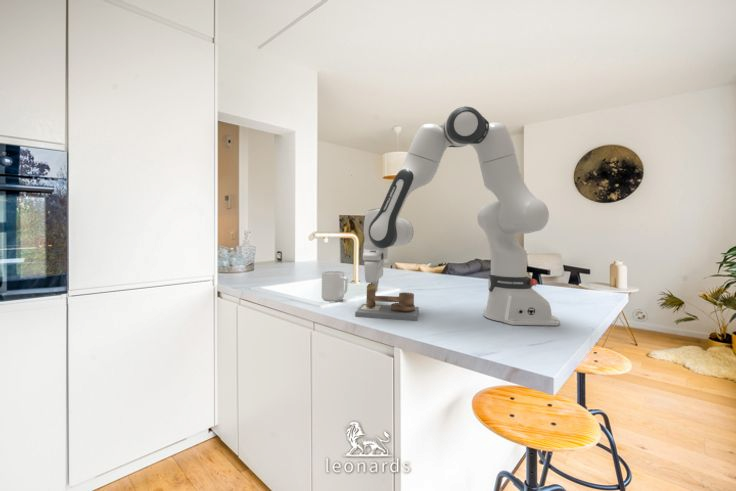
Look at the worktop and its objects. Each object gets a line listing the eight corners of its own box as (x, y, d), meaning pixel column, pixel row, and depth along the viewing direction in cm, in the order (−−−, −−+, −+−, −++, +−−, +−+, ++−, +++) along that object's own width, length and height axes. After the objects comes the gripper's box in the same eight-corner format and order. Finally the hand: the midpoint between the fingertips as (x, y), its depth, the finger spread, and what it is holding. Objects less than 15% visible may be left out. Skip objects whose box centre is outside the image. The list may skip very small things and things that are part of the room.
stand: (418, 311, 122) (418, 306, 122) (417, 320, 109) (417, 315, 109) (362, 307, 126) (362, 303, 125) (355, 316, 113) (355, 311, 113)
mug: (316, 299, 138) (317, 272, 138) (332, 296, 145) (333, 270, 144) (338, 304, 130) (338, 275, 130) (354, 300, 137) (354, 273, 137)
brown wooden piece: (414, 306, 121) (414, 283, 120) (415, 312, 113) (415, 286, 112) (367, 304, 122) (367, 281, 122) (365, 310, 114) (365, 285, 114)
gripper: (371, 251, 136) (370, 286, 137) (361, 255, 116) (360, 296, 117) (387, 252, 135) (386, 287, 136) (380, 256, 115) (379, 297, 116)
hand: (374, 291), depth 126 cm, fingers closed
